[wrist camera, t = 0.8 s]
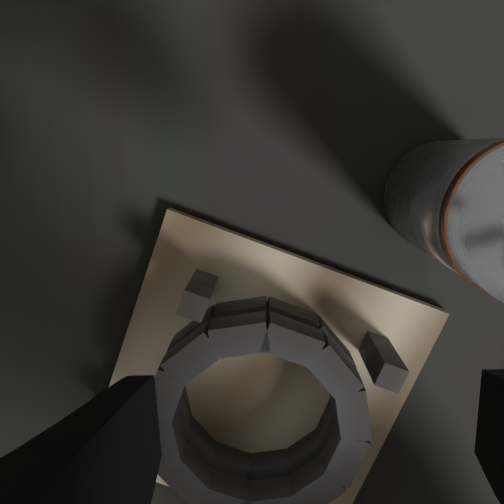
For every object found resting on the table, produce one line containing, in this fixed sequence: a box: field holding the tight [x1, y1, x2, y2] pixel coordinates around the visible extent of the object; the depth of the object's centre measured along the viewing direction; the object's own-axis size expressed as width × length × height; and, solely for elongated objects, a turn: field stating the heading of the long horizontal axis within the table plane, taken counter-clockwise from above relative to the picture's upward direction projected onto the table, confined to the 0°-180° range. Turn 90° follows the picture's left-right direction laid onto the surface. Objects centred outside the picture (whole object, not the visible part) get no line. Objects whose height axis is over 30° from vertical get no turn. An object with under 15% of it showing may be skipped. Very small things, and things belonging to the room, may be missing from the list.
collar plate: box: [109, 207, 449, 504], centre depth 19 cm, size 13×13×4 cm
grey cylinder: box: [384, 138, 504, 303], centre depth 15 cm, size 5×5×8 cm
